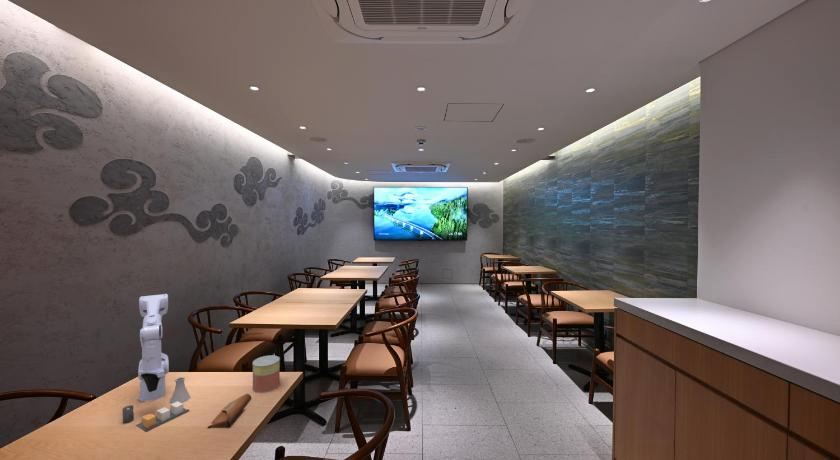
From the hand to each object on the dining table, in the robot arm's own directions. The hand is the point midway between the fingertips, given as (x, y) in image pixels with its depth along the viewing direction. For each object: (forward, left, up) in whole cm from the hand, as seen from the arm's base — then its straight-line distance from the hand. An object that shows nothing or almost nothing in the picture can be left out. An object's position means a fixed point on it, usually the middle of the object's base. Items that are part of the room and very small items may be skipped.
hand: (152, 390), depth 124 cm
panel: (+8, 0, -10) cm, 12 cm away
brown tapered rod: (+26, +15, -10) cm, 32 cm away
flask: (0, +10, -10) cm, 14 cm away
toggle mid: (+8, 0, -8) cm, 12 cm away
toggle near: (+8, +5, -8) cm, 13 cm away
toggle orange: (+8, -4, -8) cm, 13 cm away
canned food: (+20, +35, -10) cm, 41 cm away
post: (-2, -7, -10) cm, 12 cm away
